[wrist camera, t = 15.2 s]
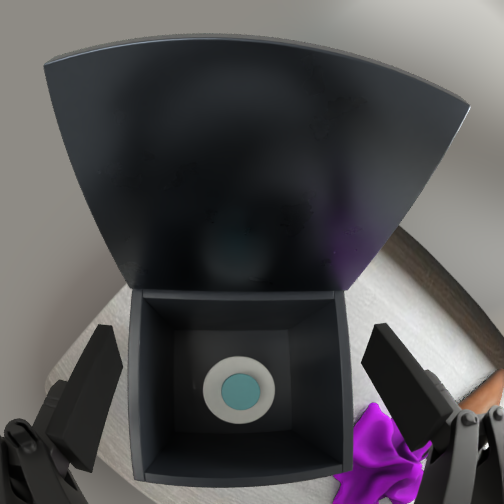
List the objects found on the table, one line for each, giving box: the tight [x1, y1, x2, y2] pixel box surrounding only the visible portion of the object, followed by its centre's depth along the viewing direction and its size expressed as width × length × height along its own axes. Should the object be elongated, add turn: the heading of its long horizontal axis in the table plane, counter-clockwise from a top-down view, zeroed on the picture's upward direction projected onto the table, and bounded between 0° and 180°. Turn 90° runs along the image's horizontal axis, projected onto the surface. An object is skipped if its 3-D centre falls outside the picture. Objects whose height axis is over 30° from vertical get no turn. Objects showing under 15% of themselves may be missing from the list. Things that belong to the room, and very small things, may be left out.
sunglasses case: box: [458, 369, 504, 414], centre depth 27 cm, size 18×7×7 cm
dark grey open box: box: [128, 289, 353, 488], centre depth 22 cm, size 14×15×15 cm
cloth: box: [333, 403, 432, 504], centre depth 22 cm, size 22×19×6 cm
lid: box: [44, 33, 470, 292], centre depth 12 cm, size 14×15×1 cm
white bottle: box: [203, 356, 275, 424], centre depth 22 cm, size 5×5×12 cm
